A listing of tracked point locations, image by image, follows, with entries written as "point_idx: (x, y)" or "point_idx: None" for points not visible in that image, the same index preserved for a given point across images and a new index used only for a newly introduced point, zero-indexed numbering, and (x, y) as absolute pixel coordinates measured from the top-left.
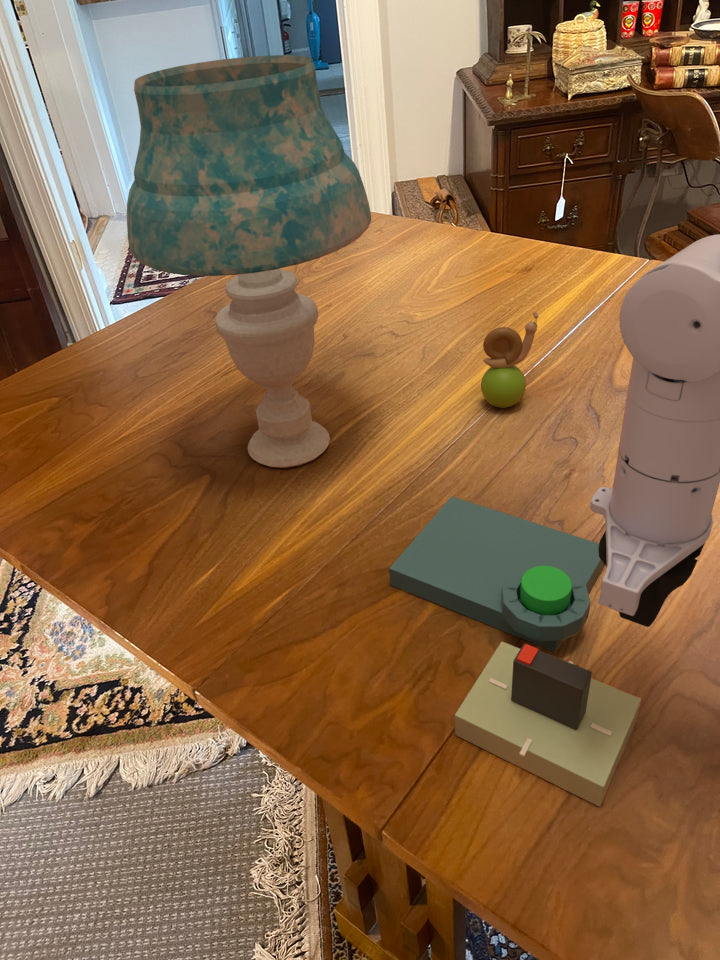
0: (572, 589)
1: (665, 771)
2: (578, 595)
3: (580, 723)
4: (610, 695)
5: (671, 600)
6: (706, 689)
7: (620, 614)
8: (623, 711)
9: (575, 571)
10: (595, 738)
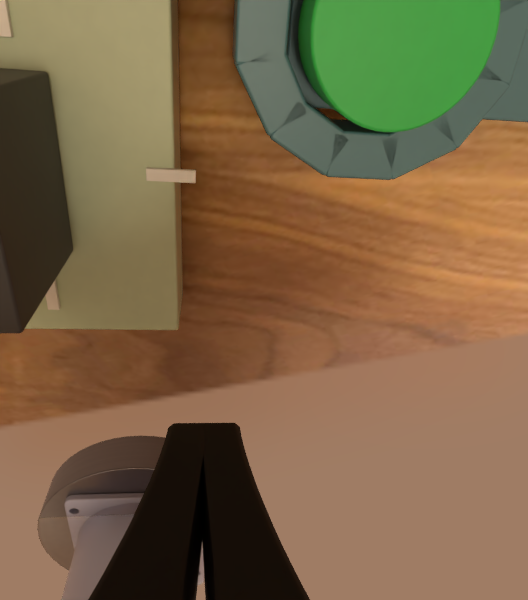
0: None
1: (108, 353)
2: (410, 139)
3: None
4: (152, 280)
5: (505, 277)
6: (302, 367)
7: (166, 435)
8: (126, 312)
9: None
10: None
